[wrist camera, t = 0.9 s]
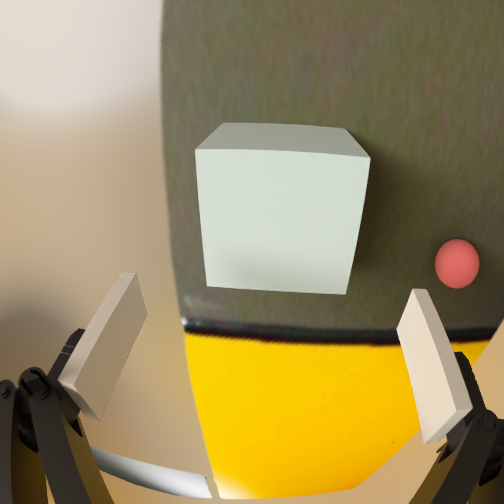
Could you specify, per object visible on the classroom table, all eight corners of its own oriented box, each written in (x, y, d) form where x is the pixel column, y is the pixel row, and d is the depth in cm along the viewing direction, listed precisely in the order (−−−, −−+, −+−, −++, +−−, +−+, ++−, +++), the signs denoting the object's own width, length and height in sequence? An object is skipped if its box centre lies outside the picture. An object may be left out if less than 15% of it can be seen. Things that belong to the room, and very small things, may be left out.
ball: (450, 221, 27) (471, 247, 23) (474, 244, 28) (494, 272, 24) (419, 255, 30) (435, 285, 26) (445, 275, 31) (461, 305, 27)
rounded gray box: (223, 122, 25) (195, 149, 18) (345, 128, 24) (370, 158, 17) (227, 228, 31) (207, 286, 23) (333, 233, 30) (345, 294, 22)
